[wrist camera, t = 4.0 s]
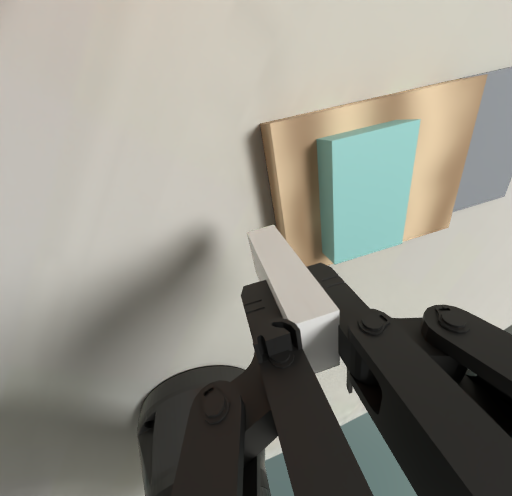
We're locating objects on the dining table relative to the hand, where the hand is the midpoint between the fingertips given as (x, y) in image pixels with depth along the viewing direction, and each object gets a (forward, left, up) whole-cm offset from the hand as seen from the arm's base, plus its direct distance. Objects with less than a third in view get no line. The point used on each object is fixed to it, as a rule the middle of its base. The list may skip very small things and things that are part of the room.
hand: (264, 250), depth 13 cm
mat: (+24, 0, -7) cm, 25 cm away
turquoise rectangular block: (+9, 0, -5) cm, 10 cm away
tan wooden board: (+11, 0, -7) cm, 13 cm away
